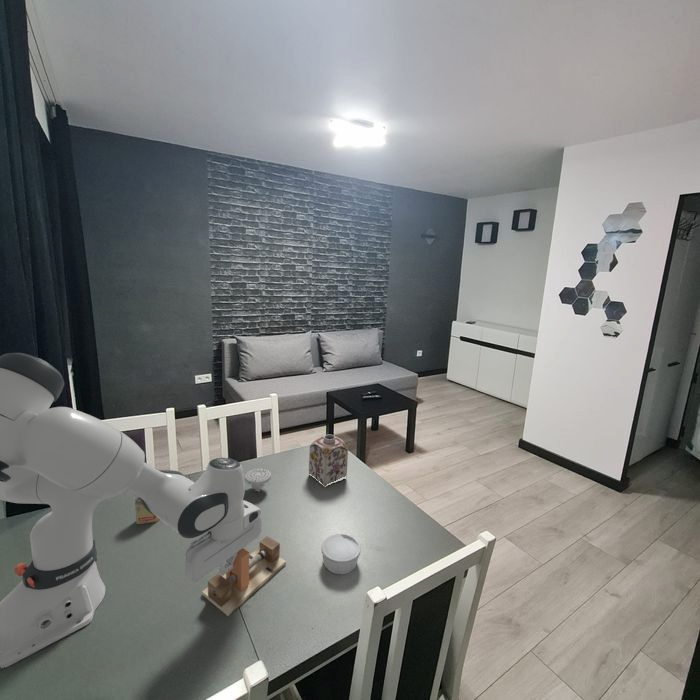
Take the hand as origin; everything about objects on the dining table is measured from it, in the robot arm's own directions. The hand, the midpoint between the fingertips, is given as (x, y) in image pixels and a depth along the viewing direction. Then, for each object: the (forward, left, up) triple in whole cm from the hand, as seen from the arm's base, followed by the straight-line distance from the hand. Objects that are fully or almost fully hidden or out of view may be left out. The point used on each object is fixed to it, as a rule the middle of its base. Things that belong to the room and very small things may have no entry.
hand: (226, 570), depth 90 cm
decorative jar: (+61, +13, -8) cm, 63 cm away
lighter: (+4, +43, -8) cm, 44 cm away
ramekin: (+27, -17, -8) cm, 33 cm away
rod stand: (+7, 0, -8) cm, 10 cm away
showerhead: (+37, +28, -8) cm, 47 cm away
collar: (+4, 0, -6) cm, 7 cm away
